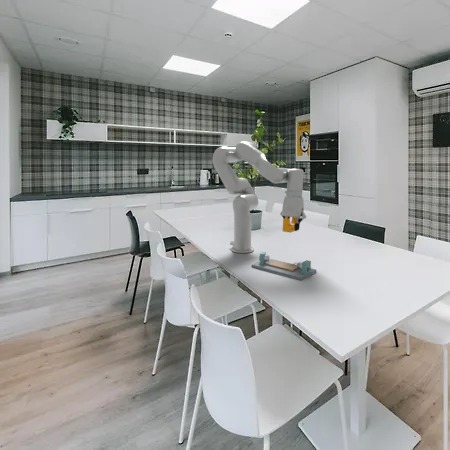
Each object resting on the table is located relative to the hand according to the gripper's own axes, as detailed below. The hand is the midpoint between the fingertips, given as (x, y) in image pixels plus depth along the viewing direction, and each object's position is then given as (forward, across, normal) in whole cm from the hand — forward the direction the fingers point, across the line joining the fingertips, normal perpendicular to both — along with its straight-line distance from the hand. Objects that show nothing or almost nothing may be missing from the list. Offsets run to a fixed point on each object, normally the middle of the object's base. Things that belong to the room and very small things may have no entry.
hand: (292, 229), depth 157 cm
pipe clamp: (+1, 0, 0) cm, 1 cm away
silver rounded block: (+13, +17, -18) cm, 28 cm away
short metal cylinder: (+14, -3, -19) cm, 23 cm away
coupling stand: (+15, +7, -18) cm, 25 cm away
